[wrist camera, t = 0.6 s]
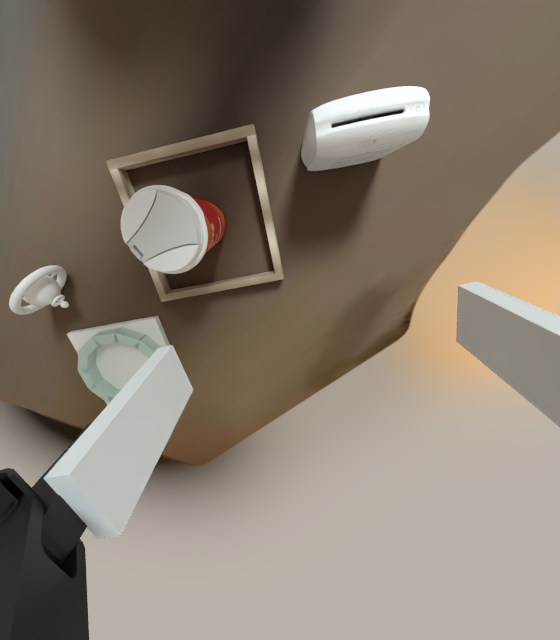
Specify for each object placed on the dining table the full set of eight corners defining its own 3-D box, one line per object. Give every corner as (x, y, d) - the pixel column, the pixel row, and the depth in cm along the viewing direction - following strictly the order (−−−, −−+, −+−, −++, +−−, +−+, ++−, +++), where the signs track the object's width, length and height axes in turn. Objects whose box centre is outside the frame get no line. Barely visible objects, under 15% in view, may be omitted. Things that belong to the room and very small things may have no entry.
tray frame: (115, 163, 33) (105, 160, 31) (255, 128, 31) (253, 123, 30) (167, 297, 40) (161, 302, 38) (283, 275, 38) (283, 279, 36)
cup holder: (71, 331, 43) (56, 339, 40) (157, 315, 41) (148, 323, 38) (111, 403, 48) (101, 415, 46) (189, 392, 47) (183, 403, 44)
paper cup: (202, 263, 38) (158, 292, 25) (165, 215, 35) (95, 220, 23) (246, 231, 36) (222, 245, 23) (209, 178, 34) (161, 161, 21)
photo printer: (386, 117, 31) (445, 65, 19) (386, 159, 32) (440, 134, 21) (298, 135, 32) (304, 95, 20) (303, 175, 33) (311, 159, 22)
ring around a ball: (60, 253, 38) (6, 264, 30) (98, 277, 39) (54, 294, 32) (42, 294, 40) (-12, 314, 33) (78, 316, 42) (33, 339, 34)
